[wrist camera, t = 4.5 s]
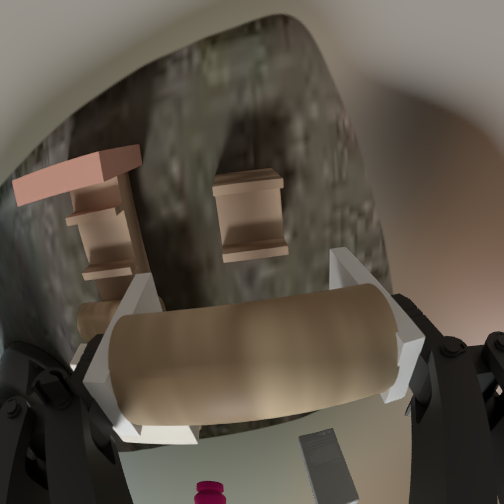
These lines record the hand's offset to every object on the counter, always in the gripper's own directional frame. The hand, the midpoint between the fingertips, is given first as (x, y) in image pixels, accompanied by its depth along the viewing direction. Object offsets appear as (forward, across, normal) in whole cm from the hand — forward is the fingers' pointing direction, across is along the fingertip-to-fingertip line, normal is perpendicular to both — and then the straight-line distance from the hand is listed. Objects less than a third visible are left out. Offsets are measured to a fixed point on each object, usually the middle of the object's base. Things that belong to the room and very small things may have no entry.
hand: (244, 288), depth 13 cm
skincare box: (+15, +9, -44) cm, 47 cm away
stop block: (+15, -12, +6) cm, 20 cm away
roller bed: (+15, -12, -10) cm, 21 cm away
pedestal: (+15, +1, 0) cm, 15 cm away
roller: (-3, 0, 0) cm, 3 cm away
